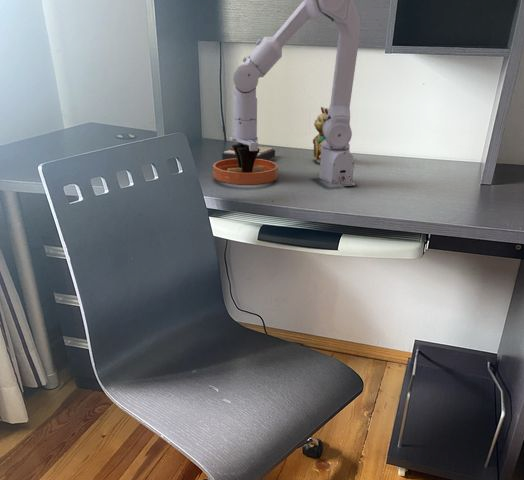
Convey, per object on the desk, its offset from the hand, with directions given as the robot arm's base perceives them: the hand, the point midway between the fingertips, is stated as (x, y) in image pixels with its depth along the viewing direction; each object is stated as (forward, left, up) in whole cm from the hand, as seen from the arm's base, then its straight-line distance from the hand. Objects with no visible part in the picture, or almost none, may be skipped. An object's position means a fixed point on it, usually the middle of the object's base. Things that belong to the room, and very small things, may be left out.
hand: (245, 174), depth 141 cm
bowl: (0, 0, -2) cm, 2 cm away
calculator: (+19, -7, -2) cm, 20 cm away
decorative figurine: (+15, -30, +6) cm, 34 cm away
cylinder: (0, 0, 0) cm, 0 cm away
